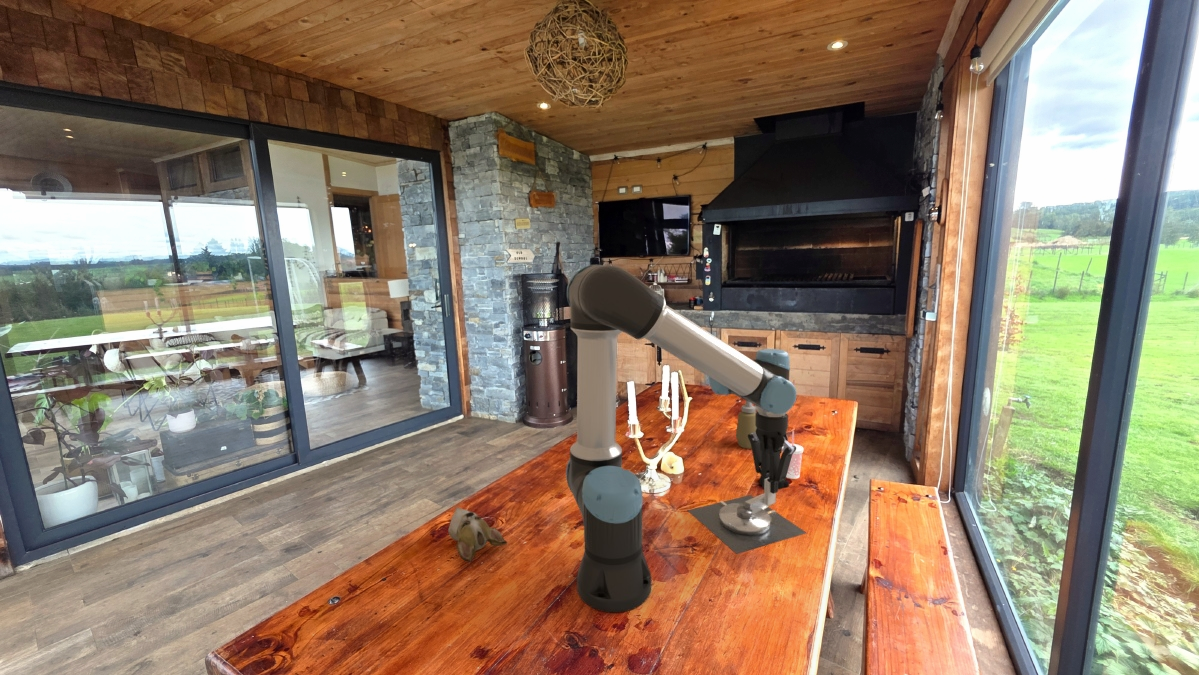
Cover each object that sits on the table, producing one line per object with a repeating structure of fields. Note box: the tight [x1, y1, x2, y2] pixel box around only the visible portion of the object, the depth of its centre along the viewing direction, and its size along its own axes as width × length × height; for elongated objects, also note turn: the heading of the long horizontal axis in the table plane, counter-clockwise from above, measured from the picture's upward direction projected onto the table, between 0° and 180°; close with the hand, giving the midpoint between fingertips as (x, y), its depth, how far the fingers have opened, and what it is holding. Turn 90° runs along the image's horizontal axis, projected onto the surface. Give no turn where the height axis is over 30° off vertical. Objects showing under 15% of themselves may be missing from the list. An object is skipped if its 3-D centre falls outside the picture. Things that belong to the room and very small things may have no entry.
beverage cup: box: [782, 430, 804, 480], centre depth 143 cm, size 6×6×14 cm
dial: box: [719, 492, 773, 535], centre depth 117 cm, size 16×12×4 cm
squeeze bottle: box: [735, 400, 757, 450], centre depth 165 cm, size 8×8×18 cm
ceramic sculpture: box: [447, 506, 508, 563], centre depth 111 cm, size 11×9×15 cm
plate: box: [687, 494, 807, 555], centre depth 117 cm, size 20×20×2 cm
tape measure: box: [759, 475, 790, 490], centre depth 136 cm, size 7×7×4 cm
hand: (769, 503), depth 119 cm, fingers closed
